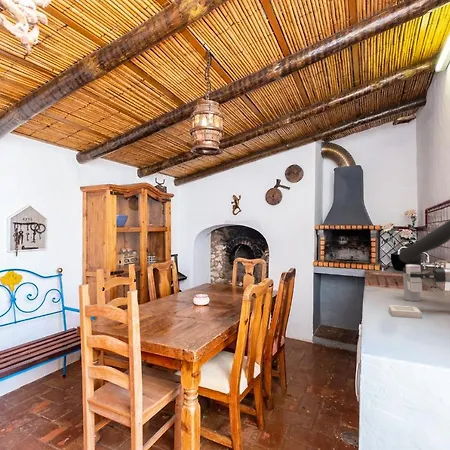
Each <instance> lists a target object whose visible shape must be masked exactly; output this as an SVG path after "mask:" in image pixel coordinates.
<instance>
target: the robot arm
mask: <svg viewBox="0 0 450 450" xmlns="http://www.w3.org/2000/svg"><path fill="white" fill-rule="evenodd" d="M449 241H450V219H449V220H448V221H446V222H445V223H443V224H441V225H440V226H439V227H437V228H434V230H431V232H429V233H428V234H426V235H425V236H423V237H422V238H420V239H419V240H417V241H416V242H415V243H412V244H411V245H409V246H406V247H405V248H403V249H401V250H400V252H399V254H398V255H399V260H401V262H403V263H406V265H411V264H413V265H420V268H421V269H422V254H424V253H426V252H429V251H431V250H435V249H437V248H439V247H441V246H442V245H444V244H446V243H448V242H449ZM402 277H403V299H404V300H406V301H411V302H420V301H422V292H411V291H409V290H407V276H406V266H404V267H403V268H402ZM410 277H411V278H421V280H422V279H424V280H425V279H427V280H433V281H434V282H435V283H450V268H449V267H444V268H443V267H442V268H441V267H434V268H433V269H432V271H429V270H421V273H410Z"/></svg>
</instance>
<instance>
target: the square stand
mask: <svg viewBox="0 0 450 450" xmlns="http://www.w3.org/2000/svg"><path fill="white" fill-rule="evenodd" d="M388 311H389V313H390V315H391V317H395V316H396V317H397V318H398V317H399V318H409V317H410V319H411V318H412V319H422V317H423V316H422V311H421V310H419V309H418V307H417V306H411V305H408V306H407V305H396V304H395V305H394V304H388Z"/></svg>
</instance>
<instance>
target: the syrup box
mask: <svg viewBox="0 0 450 450" xmlns="http://www.w3.org/2000/svg"><path fill="white" fill-rule="evenodd" d="M405 267H406V276H407V290H409V291H411V292H421V293H423V284H422V283H423V281H422V279H421V278H411V277H410V273H421V271H422V267H421V268H420V265H413V264H411V265H407V264H405Z"/></svg>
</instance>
